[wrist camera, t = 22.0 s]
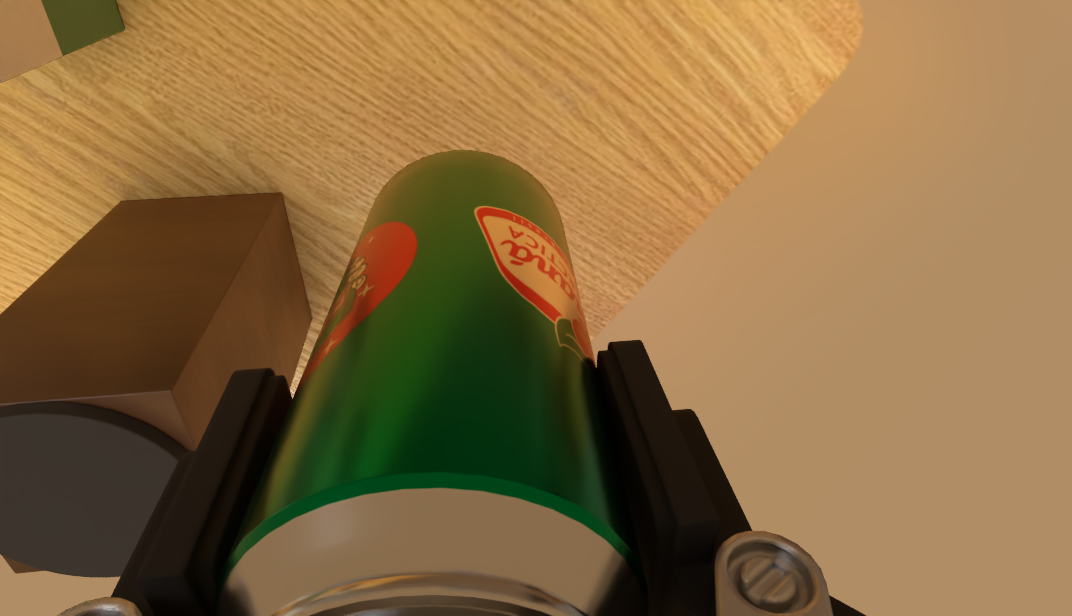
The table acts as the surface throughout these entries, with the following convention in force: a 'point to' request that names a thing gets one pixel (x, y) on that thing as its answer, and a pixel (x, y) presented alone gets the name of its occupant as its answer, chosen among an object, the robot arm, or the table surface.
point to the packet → (51, 30)
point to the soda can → (445, 425)
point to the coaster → (78, 485)
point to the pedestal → (160, 313)
